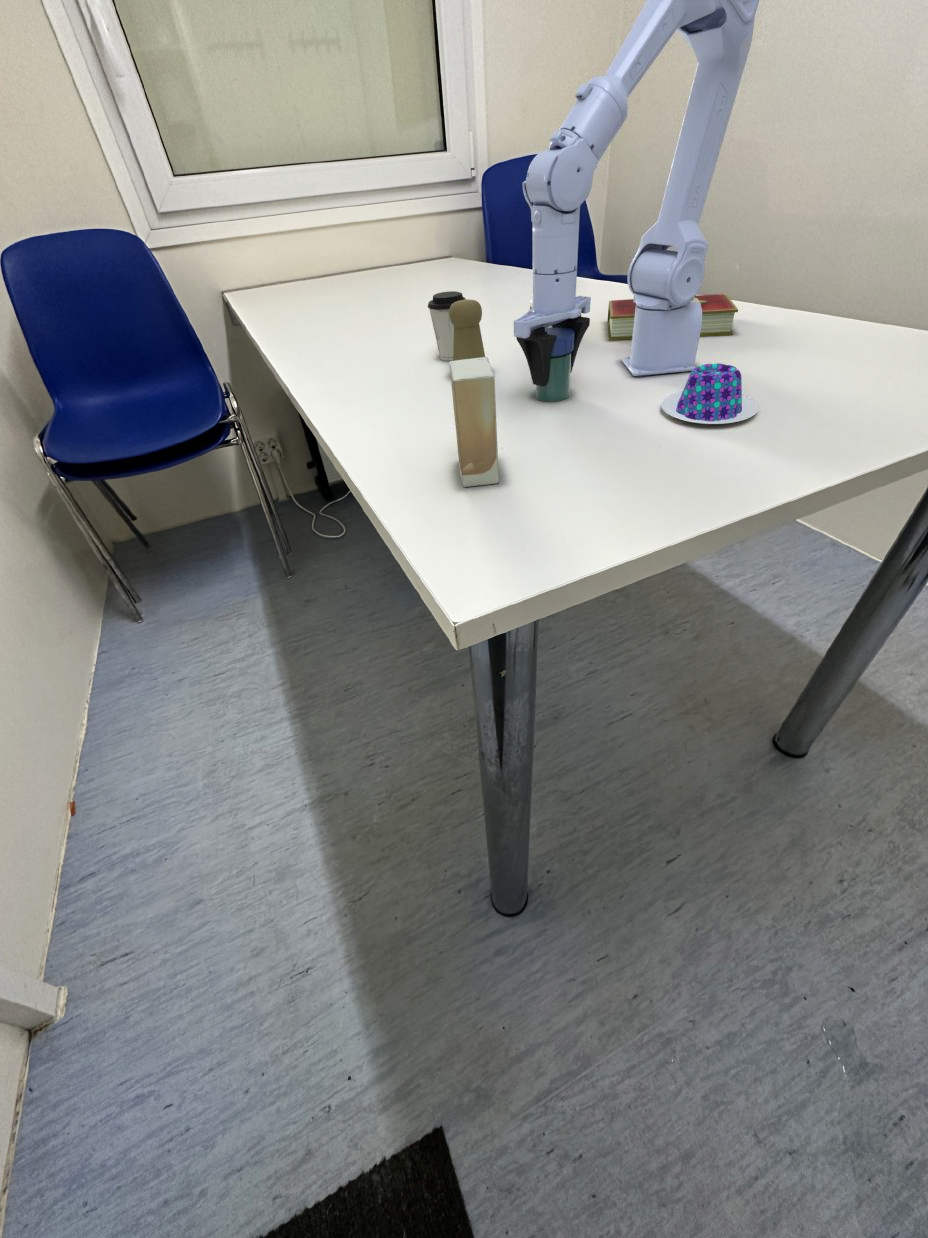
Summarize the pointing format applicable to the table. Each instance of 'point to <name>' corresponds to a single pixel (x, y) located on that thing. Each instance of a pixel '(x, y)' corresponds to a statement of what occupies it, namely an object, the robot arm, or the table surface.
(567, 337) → the lid
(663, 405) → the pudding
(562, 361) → the jar
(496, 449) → the cosmetic box
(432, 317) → the coffee cup
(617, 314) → the hardcover book
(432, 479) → the table surface
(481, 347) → the cork
